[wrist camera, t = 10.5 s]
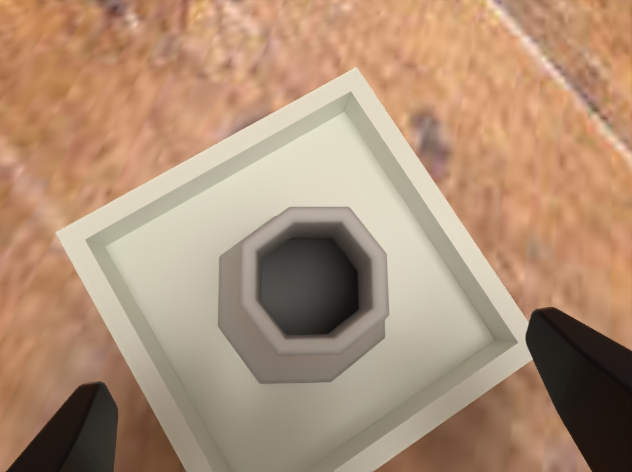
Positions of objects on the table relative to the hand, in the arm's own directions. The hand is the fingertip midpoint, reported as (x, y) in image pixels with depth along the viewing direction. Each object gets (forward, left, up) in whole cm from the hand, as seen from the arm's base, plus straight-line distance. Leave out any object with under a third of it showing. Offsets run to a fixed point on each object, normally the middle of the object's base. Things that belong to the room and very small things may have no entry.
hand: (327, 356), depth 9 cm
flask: (+1, +2, -10) cm, 10 cm away
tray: (+1, +2, -10) cm, 10 cm away
